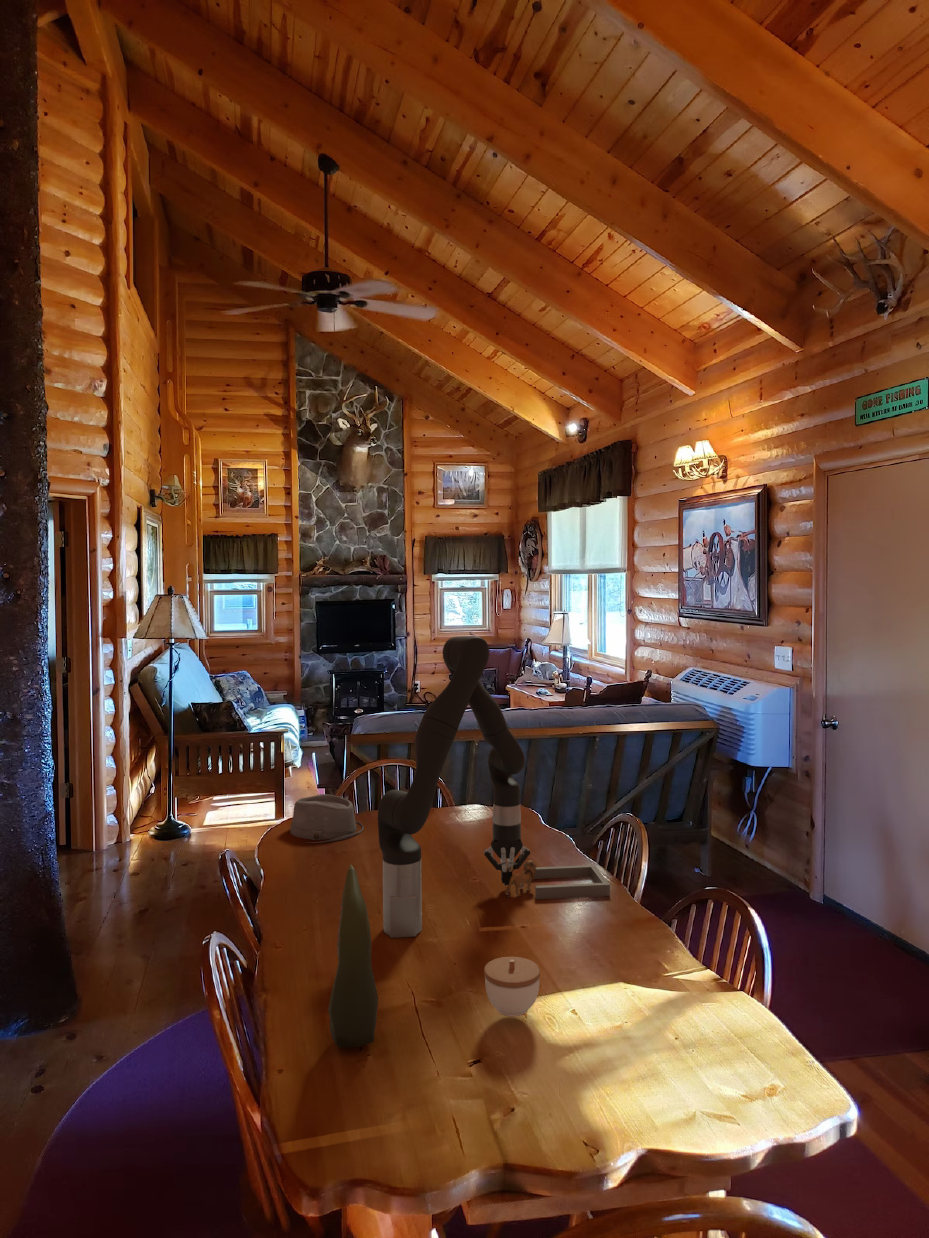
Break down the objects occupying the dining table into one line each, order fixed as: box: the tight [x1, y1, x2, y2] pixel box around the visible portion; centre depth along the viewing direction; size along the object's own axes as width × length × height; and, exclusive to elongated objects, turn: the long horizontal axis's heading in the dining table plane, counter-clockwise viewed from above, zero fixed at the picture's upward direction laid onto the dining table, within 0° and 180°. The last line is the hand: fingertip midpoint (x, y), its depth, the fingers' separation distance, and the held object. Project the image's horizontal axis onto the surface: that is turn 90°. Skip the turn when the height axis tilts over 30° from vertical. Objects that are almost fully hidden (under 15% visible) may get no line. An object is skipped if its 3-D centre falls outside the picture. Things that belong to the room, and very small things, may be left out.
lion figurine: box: [504, 859, 537, 899], centre depth 213 cm, size 12×4×7 cm, turn 148°
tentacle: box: [327, 864, 379, 1048], centre depth 145 cm, size 9×12×30 cm
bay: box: [533, 864, 611, 900], centre depth 217 cm, size 15×20×3 cm
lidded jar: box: [483, 956, 541, 1018], centre depth 155 cm, size 11×11×9 cm
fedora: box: [289, 793, 364, 844], centre depth 264 cm, size 24×27×12 cm
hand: (506, 884), depth 215 cm, fingers closed
